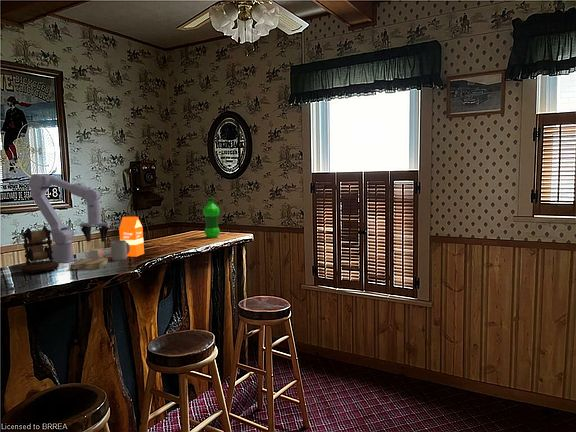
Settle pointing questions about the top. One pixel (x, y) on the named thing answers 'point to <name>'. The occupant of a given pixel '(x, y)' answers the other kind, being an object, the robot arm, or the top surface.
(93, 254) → the ceramic block
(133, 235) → the orange juice
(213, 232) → the plastic bottle
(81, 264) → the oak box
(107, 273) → the top surface
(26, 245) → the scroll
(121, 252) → the cup
